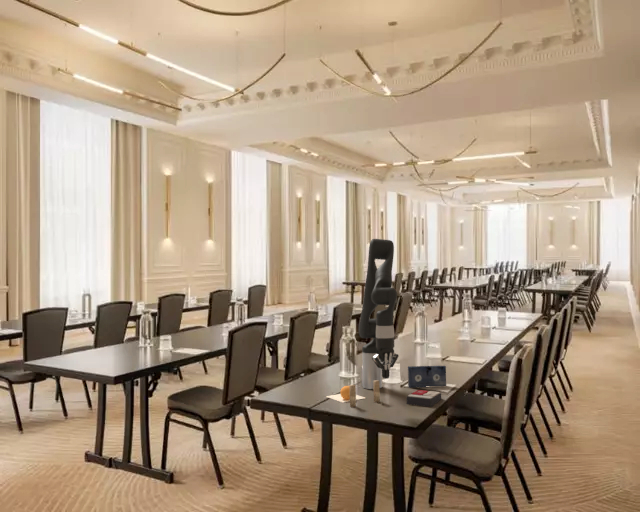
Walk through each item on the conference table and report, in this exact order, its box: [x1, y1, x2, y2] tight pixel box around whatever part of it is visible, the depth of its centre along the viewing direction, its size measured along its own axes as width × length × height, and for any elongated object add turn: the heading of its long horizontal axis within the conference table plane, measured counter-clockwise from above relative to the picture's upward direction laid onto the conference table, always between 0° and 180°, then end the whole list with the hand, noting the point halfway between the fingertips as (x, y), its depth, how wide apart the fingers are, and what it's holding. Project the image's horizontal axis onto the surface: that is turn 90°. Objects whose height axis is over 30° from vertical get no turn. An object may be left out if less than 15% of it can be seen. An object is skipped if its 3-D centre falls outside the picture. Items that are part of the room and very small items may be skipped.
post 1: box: [349, 384, 357, 408], centre depth 240 cm, size 3×3×9 cm
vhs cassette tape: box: [407, 365, 447, 389], centre depth 274 cm, size 18×3×10 cm, turn 92°
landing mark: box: [325, 393, 366, 404], centre depth 255 cm, size 13×13×1 cm
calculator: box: [406, 389, 442, 408], centre depth 246 cm, size 11×4×15 cm
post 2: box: [373, 380, 381, 403], centre depth 247 cm, size 3×3×9 cm
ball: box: [339, 385, 350, 400], centre depth 252 cm, size 6×6×6 cm
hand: (385, 378), depth 232 cm, fingers closed
